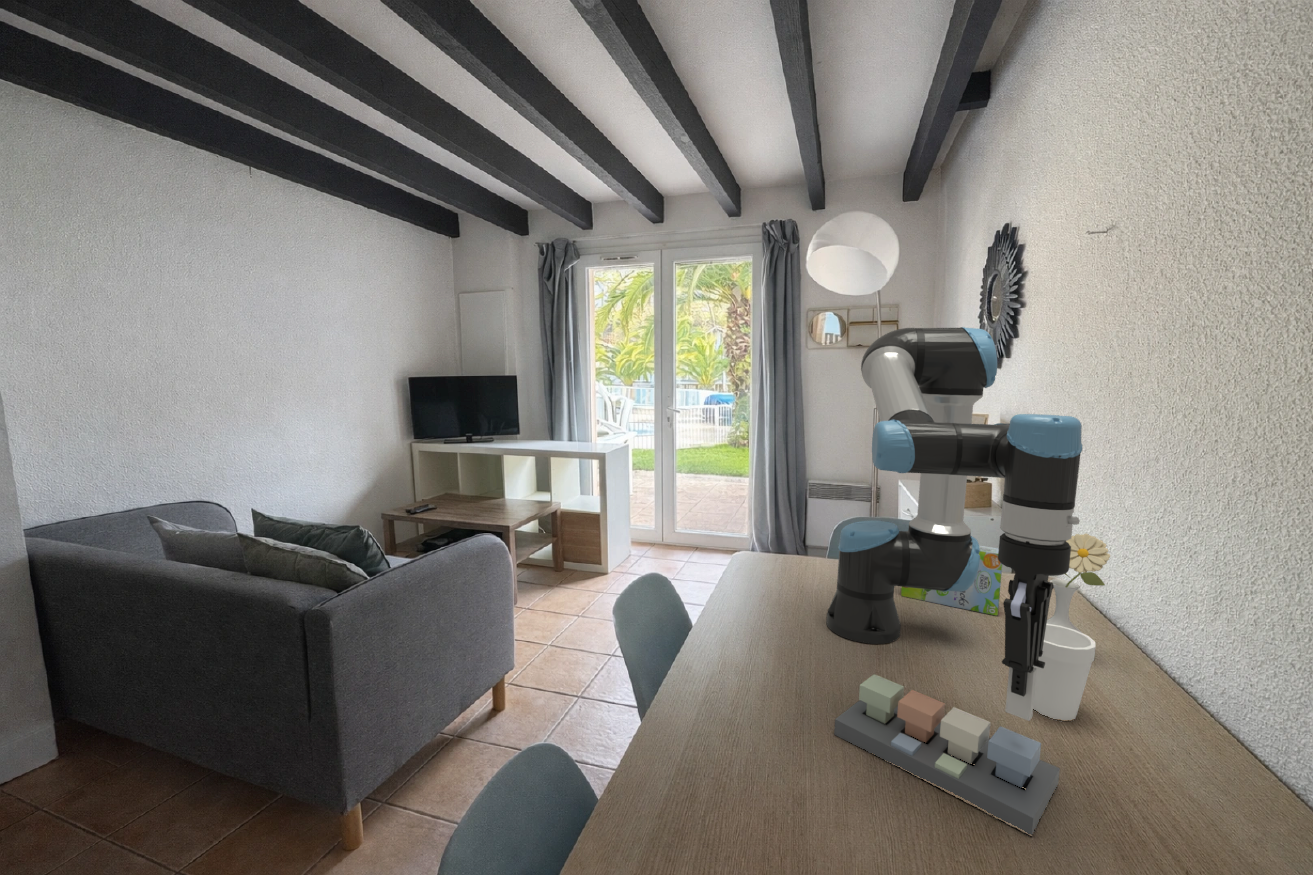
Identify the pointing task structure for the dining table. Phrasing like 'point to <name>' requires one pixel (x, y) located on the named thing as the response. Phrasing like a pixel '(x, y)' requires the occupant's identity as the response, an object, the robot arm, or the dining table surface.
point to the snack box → (979, 595)
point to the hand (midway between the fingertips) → (1018, 713)
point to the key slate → (1013, 755)
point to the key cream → (964, 734)
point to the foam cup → (1062, 672)
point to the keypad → (951, 767)
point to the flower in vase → (1083, 558)
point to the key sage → (880, 697)
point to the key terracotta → (920, 714)
